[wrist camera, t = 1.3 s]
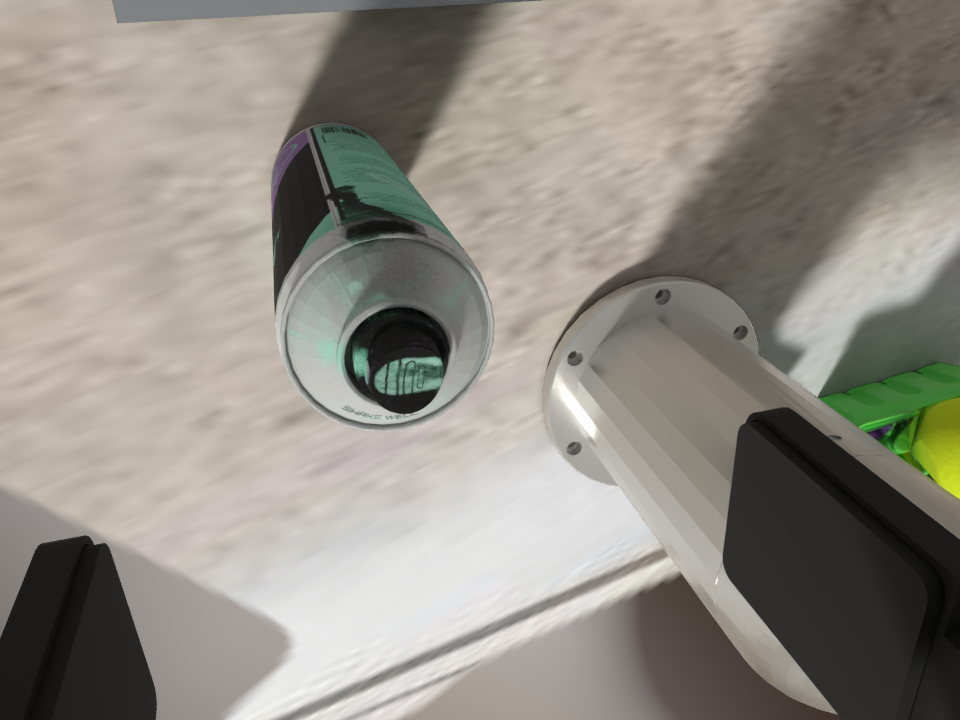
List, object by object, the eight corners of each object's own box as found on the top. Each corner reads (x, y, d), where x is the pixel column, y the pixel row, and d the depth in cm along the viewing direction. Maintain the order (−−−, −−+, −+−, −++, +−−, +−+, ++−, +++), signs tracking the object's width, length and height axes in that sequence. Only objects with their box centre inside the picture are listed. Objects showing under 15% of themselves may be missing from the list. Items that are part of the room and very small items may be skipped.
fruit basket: (793, 488, 49) (926, 610, 39) (795, 369, 45) (944, 473, 35) (946, 439, 51) (1110, 544, 41) (962, 320, 47) (1148, 405, 37)
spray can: (246, 158, 33) (224, 341, 15) (358, 99, 33) (466, 213, 15) (311, 265, 35) (356, 526, 18) (415, 209, 36) (562, 415, 18)
